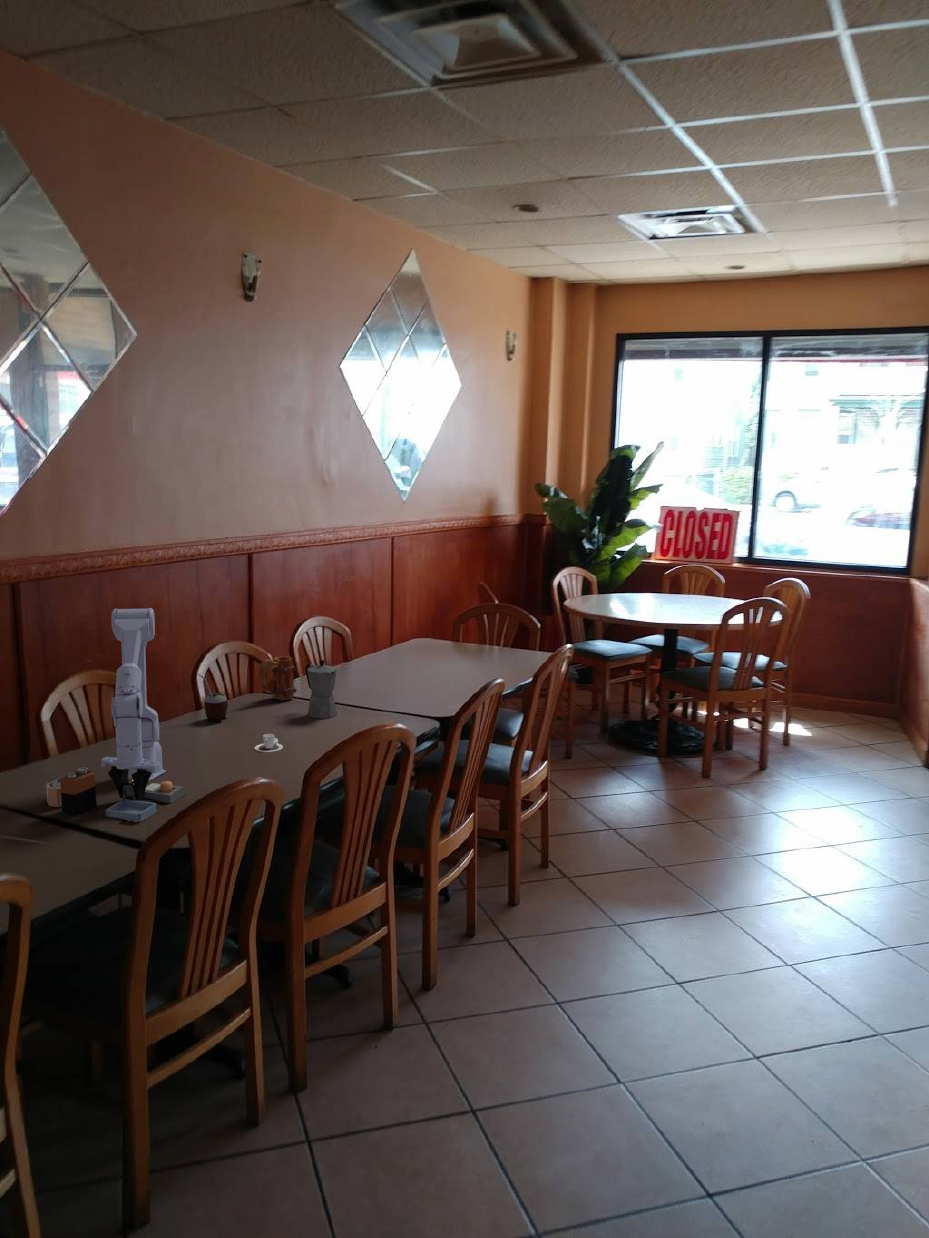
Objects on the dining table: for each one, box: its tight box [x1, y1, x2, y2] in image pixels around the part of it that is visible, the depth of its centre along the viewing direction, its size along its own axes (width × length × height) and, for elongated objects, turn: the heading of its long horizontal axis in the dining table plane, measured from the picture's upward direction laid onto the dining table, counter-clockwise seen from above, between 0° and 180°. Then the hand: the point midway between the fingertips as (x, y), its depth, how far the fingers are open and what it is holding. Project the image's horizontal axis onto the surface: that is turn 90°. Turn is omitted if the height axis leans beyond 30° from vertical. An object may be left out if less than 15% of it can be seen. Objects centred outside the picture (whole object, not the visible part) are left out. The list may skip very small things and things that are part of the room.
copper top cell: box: [122, 778, 142, 801], centre depth 224 cm, size 4×4×6 cm
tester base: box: [143, 782, 185, 804], centre depth 229 cm, size 9×6×2 cm, turn 75°
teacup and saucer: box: [254, 733, 284, 753], centre depth 267 cm, size 9×8×4 cm
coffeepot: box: [304, 659, 338, 719], centre depth 299 cm, size 15×9×18 cm, turn 44°
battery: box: [60, 766, 98, 817], centre depth 218 cm, size 4×7×10 cm, turn 156°
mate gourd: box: [196, 673, 229, 724], centre depth 291 cm, size 8×8×15 cm
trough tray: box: [104, 798, 159, 823], centre depth 217 cm, size 7×9×2 cm
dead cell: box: [52, 775, 65, 788], centre depth 223 cm, size 4×4×6 cm
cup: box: [46, 780, 62, 808], centre depth 223 cm, size 6×6×5 cm
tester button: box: [159, 780, 173, 793], centre depth 228 cm, size 3×3×3 cm
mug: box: [258, 655, 297, 701], centre depth 314 cm, size 15×8×15 cm, turn 144°
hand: (131, 797), depth 224 cm, fingers closed on copper top cell, 4 cm apart
